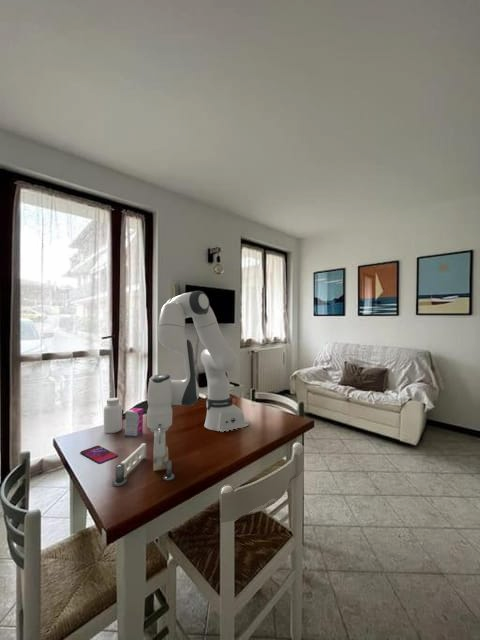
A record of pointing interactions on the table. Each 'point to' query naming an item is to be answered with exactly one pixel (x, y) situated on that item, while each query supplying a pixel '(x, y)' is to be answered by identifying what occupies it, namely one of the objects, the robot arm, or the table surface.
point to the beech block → (164, 461)
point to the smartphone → (98, 454)
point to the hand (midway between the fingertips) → (159, 458)
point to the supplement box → (134, 422)
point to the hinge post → (119, 476)
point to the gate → (137, 459)
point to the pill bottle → (112, 416)
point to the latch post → (169, 472)
